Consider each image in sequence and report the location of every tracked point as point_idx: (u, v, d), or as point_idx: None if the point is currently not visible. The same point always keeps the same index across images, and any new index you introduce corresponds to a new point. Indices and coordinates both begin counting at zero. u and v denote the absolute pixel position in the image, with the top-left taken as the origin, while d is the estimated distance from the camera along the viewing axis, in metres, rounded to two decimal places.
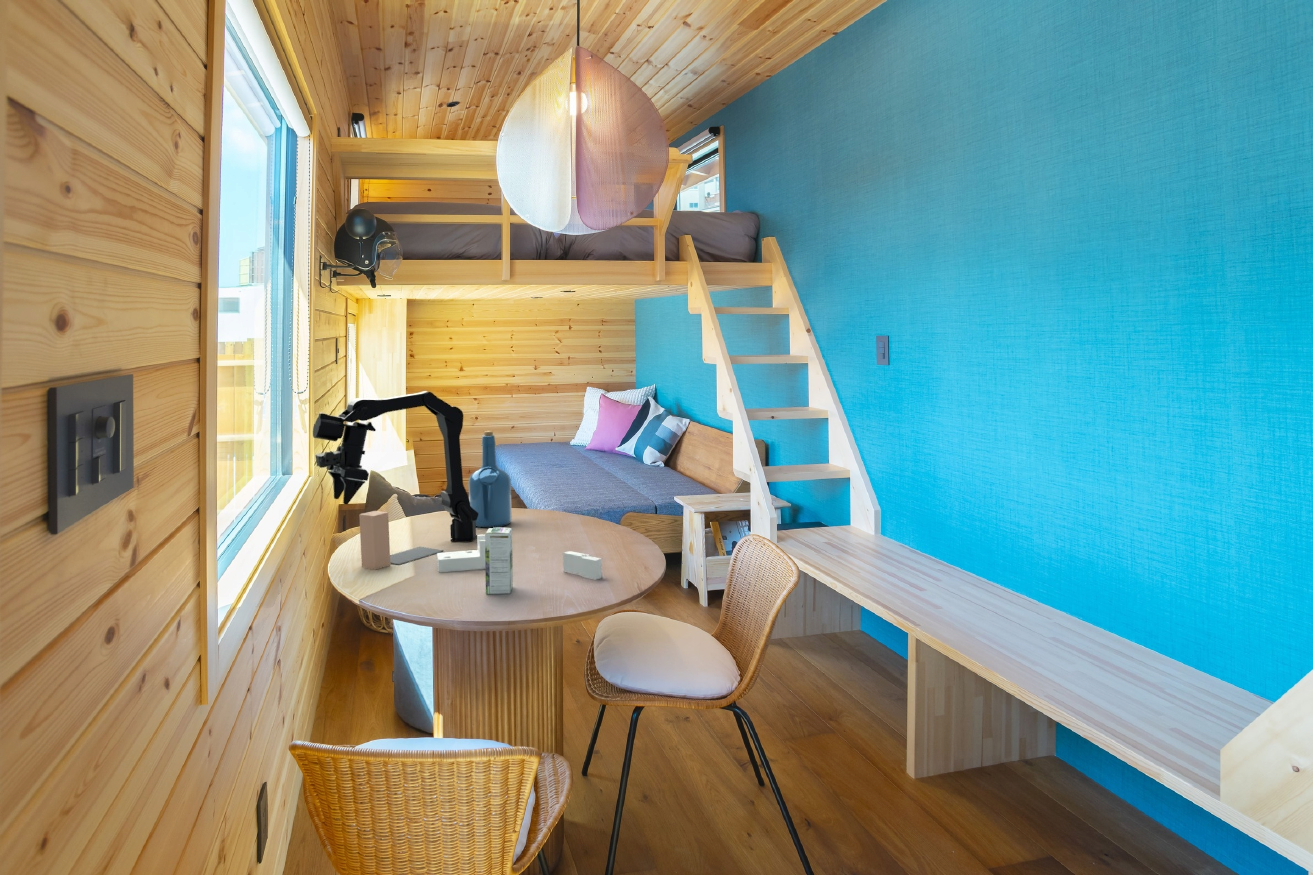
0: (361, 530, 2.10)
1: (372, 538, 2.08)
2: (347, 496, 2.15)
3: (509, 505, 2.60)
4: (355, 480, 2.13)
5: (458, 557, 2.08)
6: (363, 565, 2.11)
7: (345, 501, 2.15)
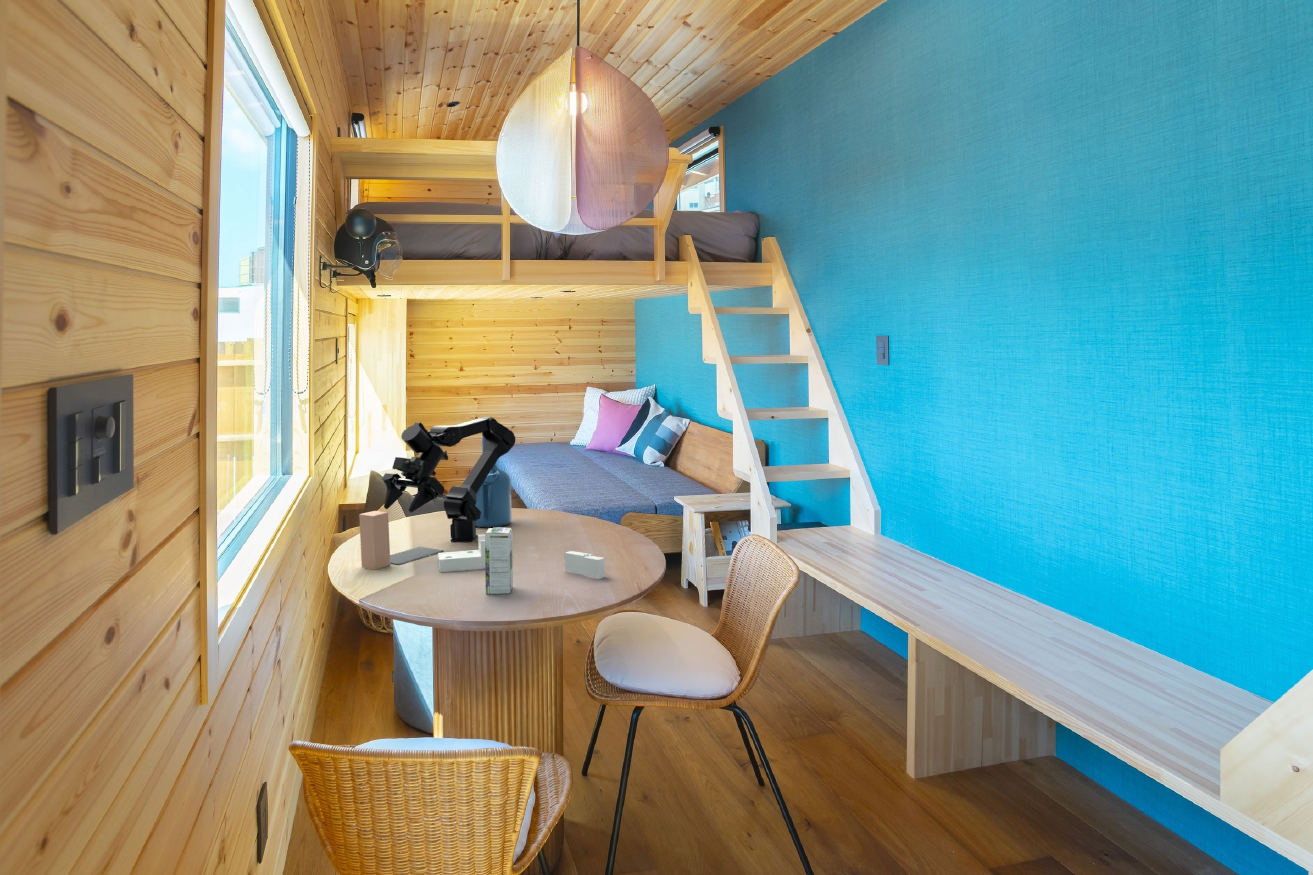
0: (361, 530, 2.10)
1: (372, 538, 2.08)
2: (415, 504, 2.17)
3: (509, 505, 2.60)
4: (432, 492, 2.18)
5: (459, 557, 2.08)
6: (363, 565, 2.11)
7: (411, 509, 2.16)
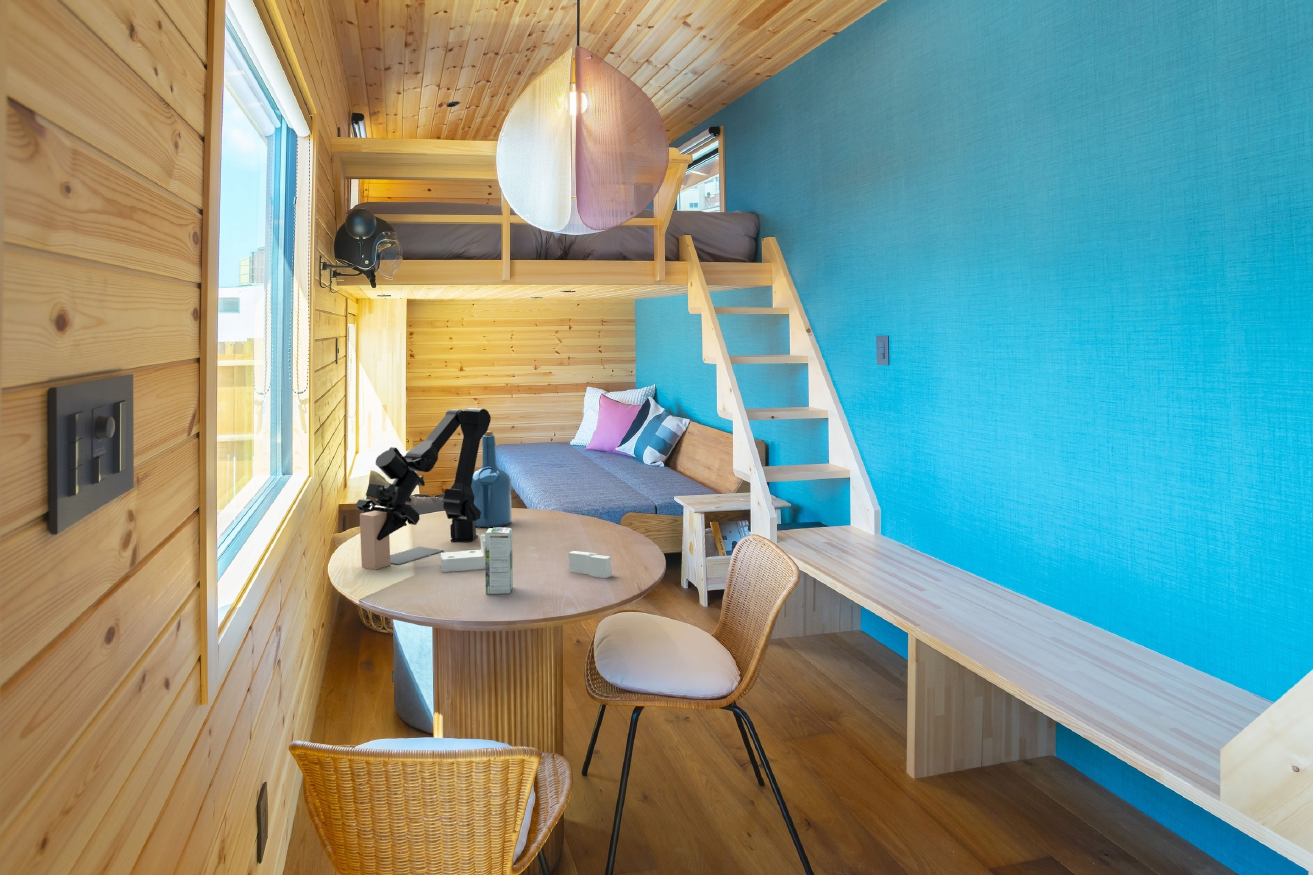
0: (361, 529, 2.10)
1: (372, 538, 2.08)
2: (384, 532, 2.10)
3: (509, 505, 2.60)
4: (401, 519, 2.11)
5: (462, 557, 2.08)
6: (363, 565, 2.11)
7: (379, 537, 2.09)
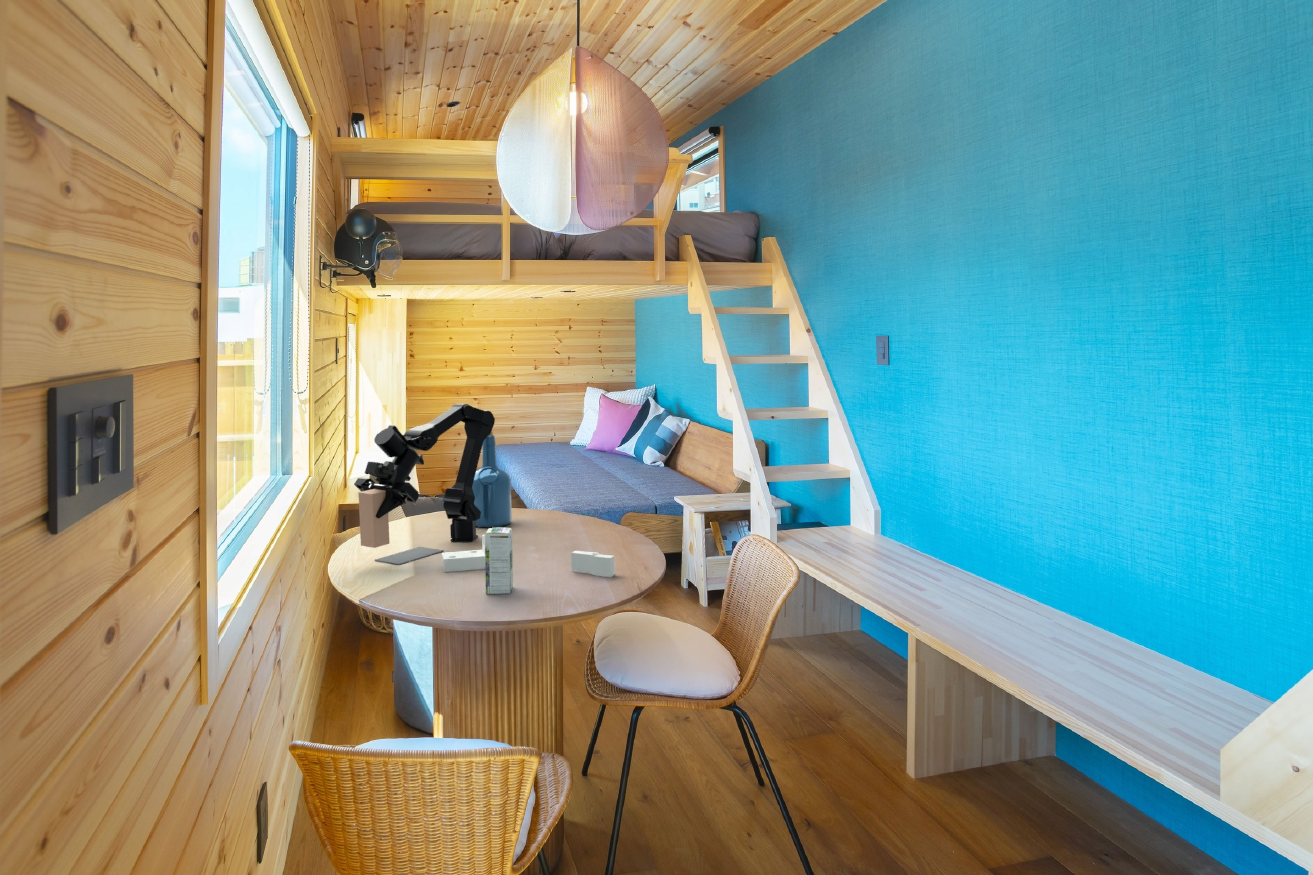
0: (360, 508, 2.10)
1: (371, 516, 2.08)
2: (383, 510, 2.09)
3: (509, 505, 2.60)
4: (400, 497, 2.11)
5: (463, 557, 2.08)
6: (362, 543, 2.11)
7: (378, 514, 2.09)
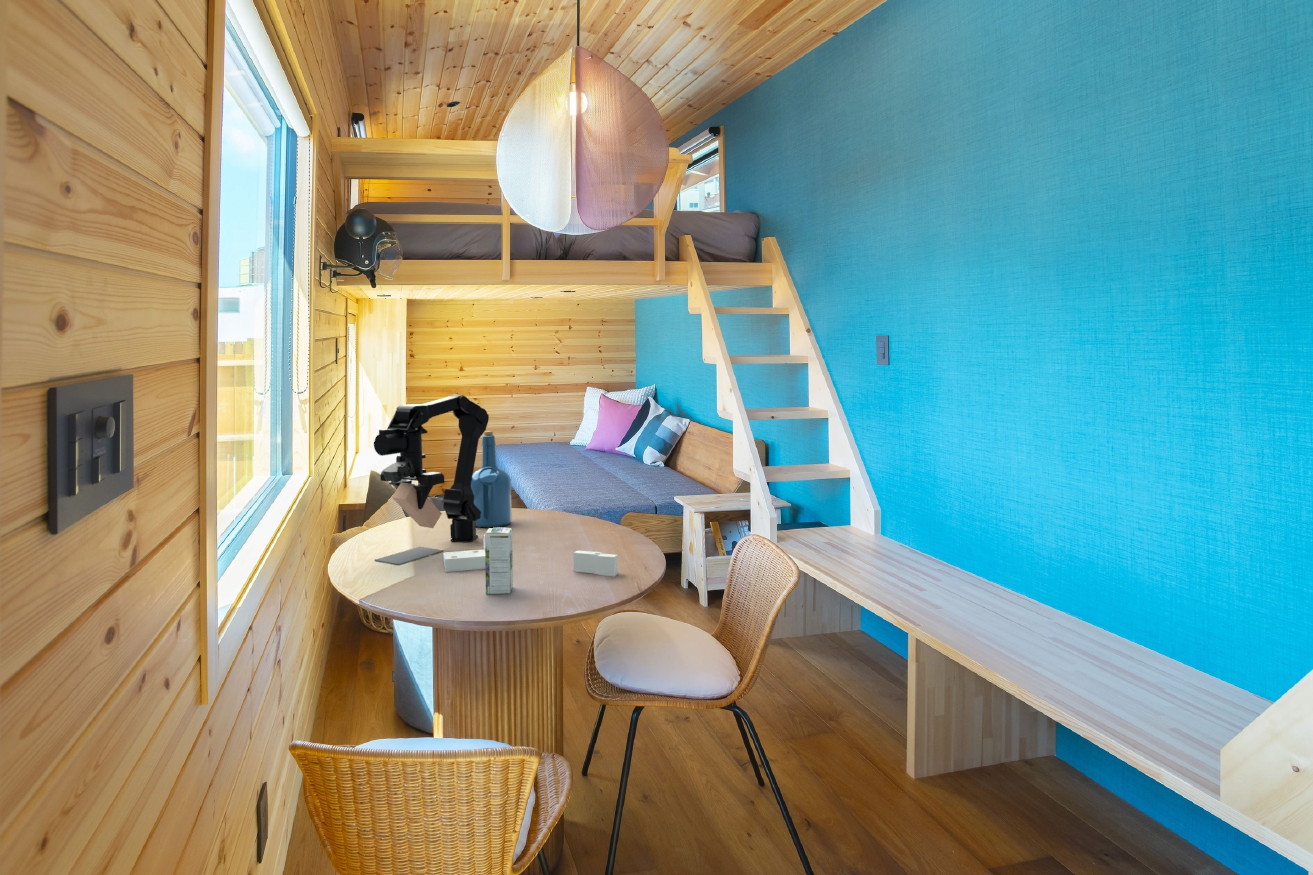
0: (401, 506, 2.22)
1: (415, 511, 2.21)
2: (421, 501, 2.21)
3: (509, 505, 2.60)
4: None
5: (465, 557, 2.08)
6: (420, 525, 2.28)
7: (420, 506, 2.21)
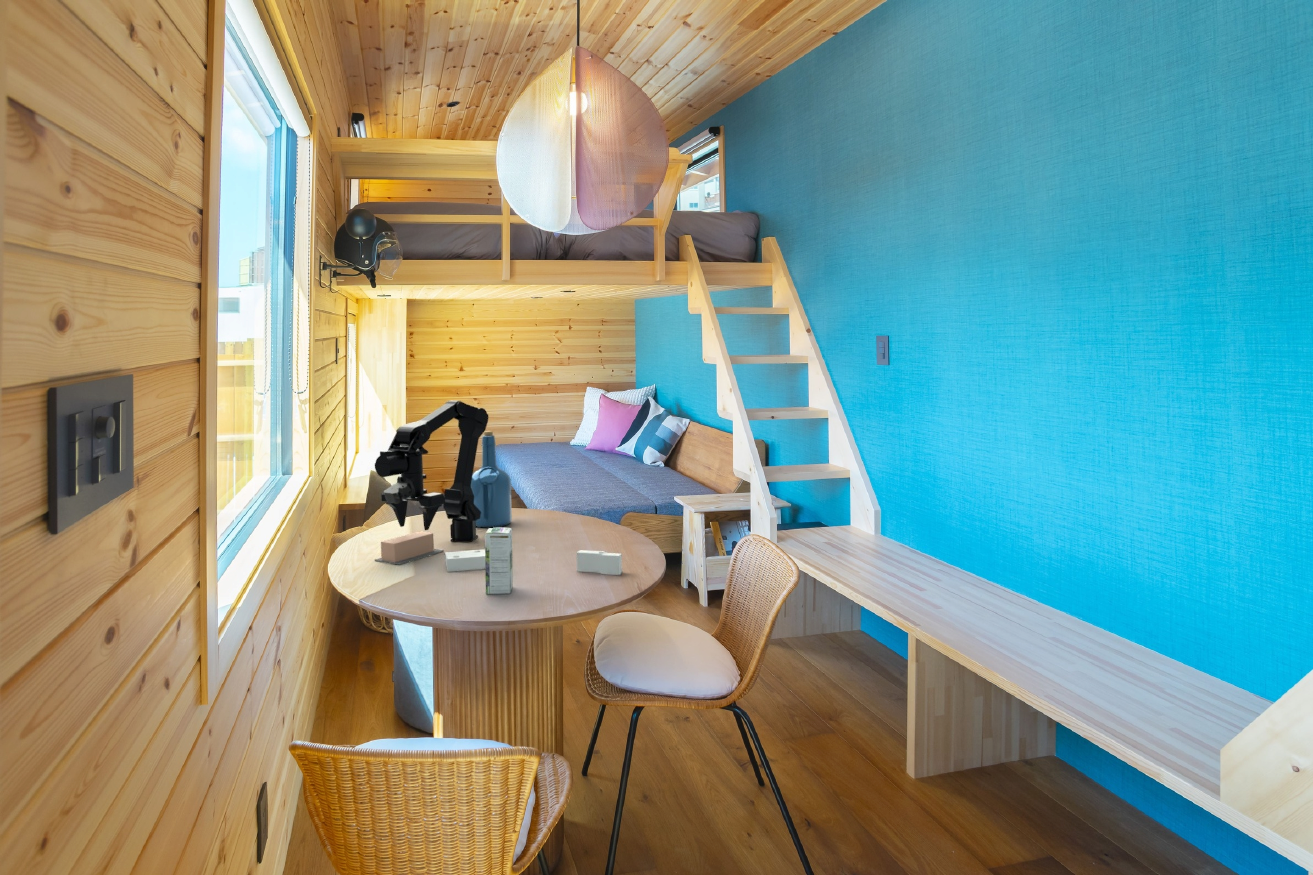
0: None
1: None
2: (427, 522, 2.21)
3: (509, 505, 2.60)
4: (435, 506, 2.19)
5: (467, 557, 2.08)
6: None
7: (426, 527, 2.21)
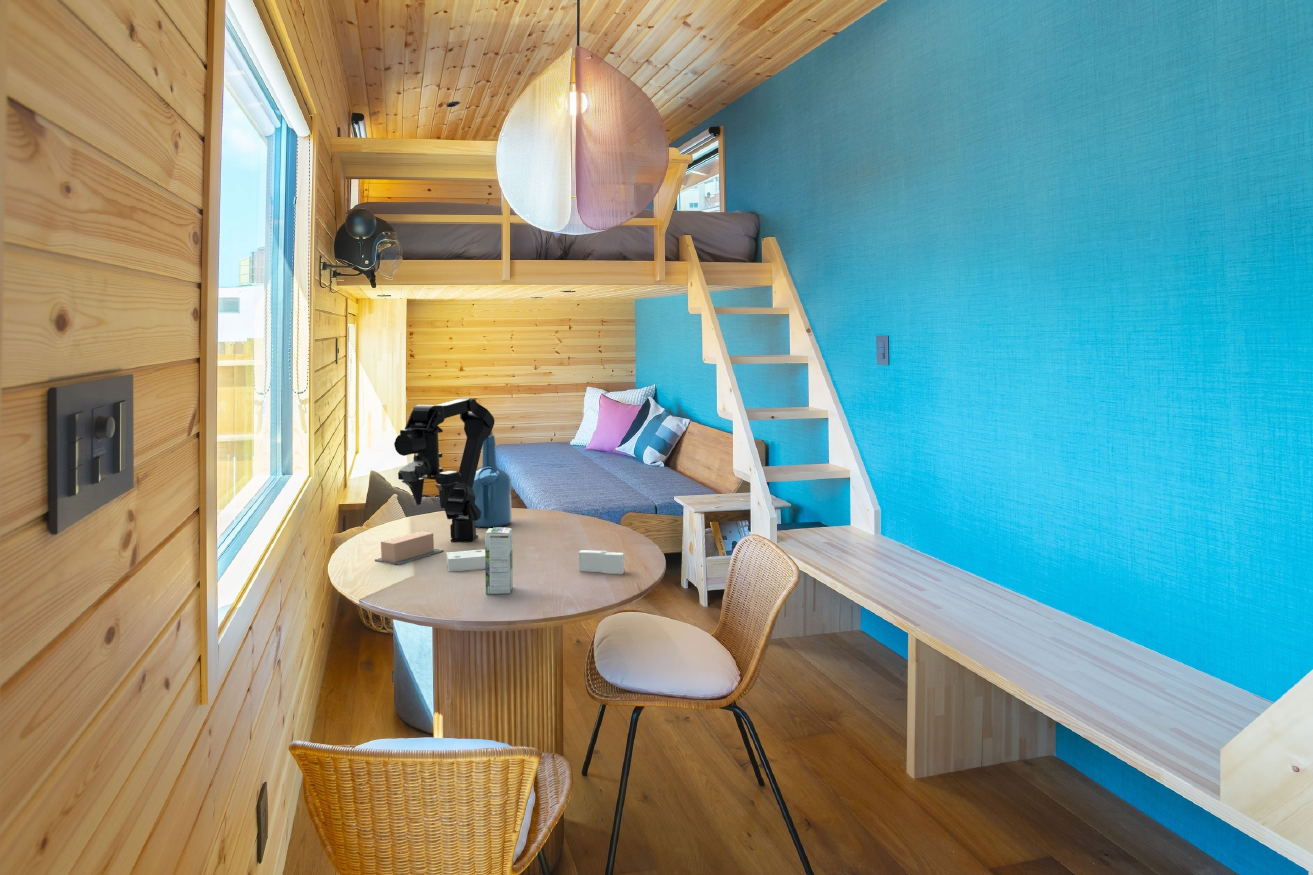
0: None
1: None
2: (443, 500, 2.23)
3: (509, 505, 2.60)
4: (451, 484, 2.21)
5: (468, 557, 2.09)
6: None
7: (442, 505, 2.23)
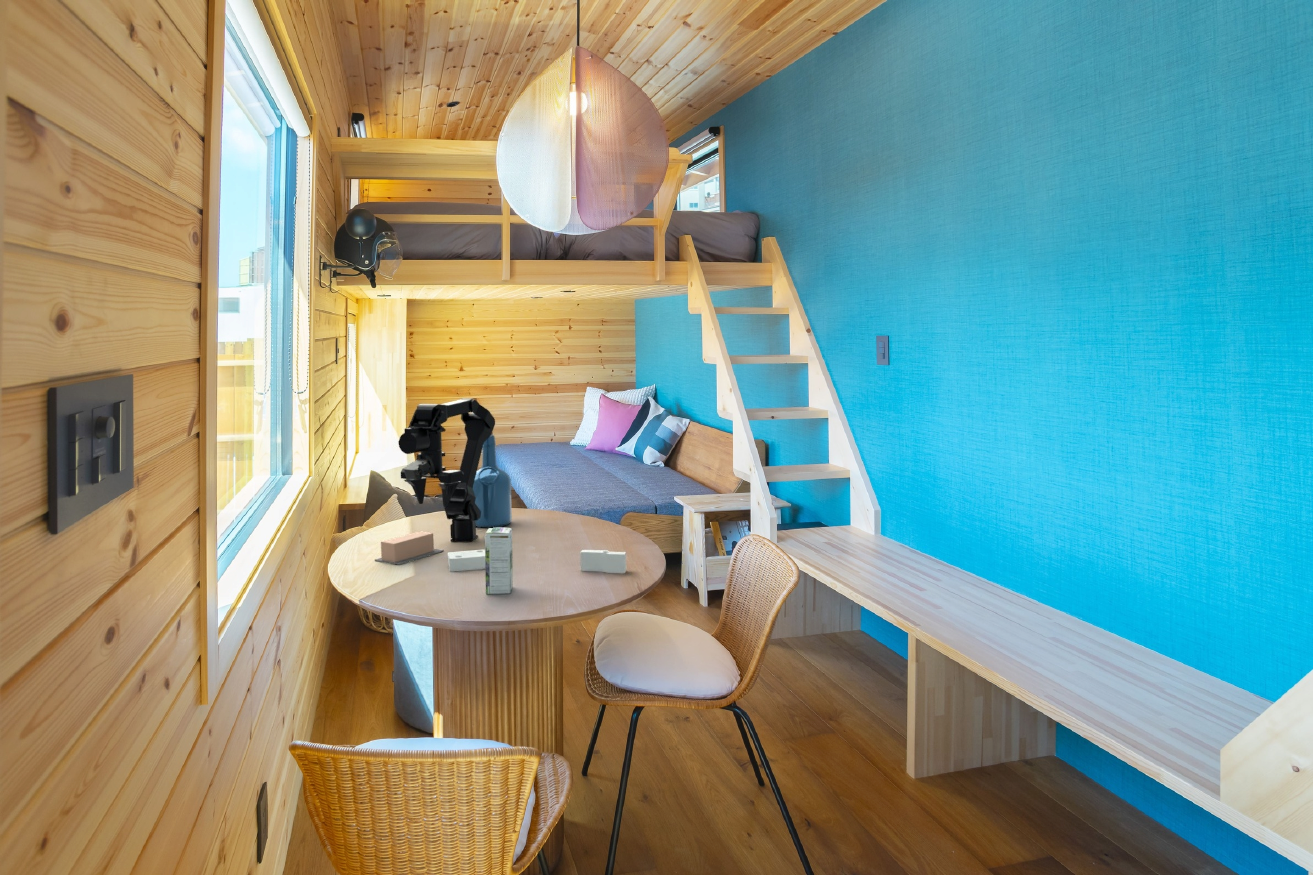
0: None
1: None
2: (446, 499, 2.23)
3: (509, 505, 2.60)
4: (454, 483, 2.22)
5: (469, 557, 2.09)
6: None
7: (445, 504, 2.23)
